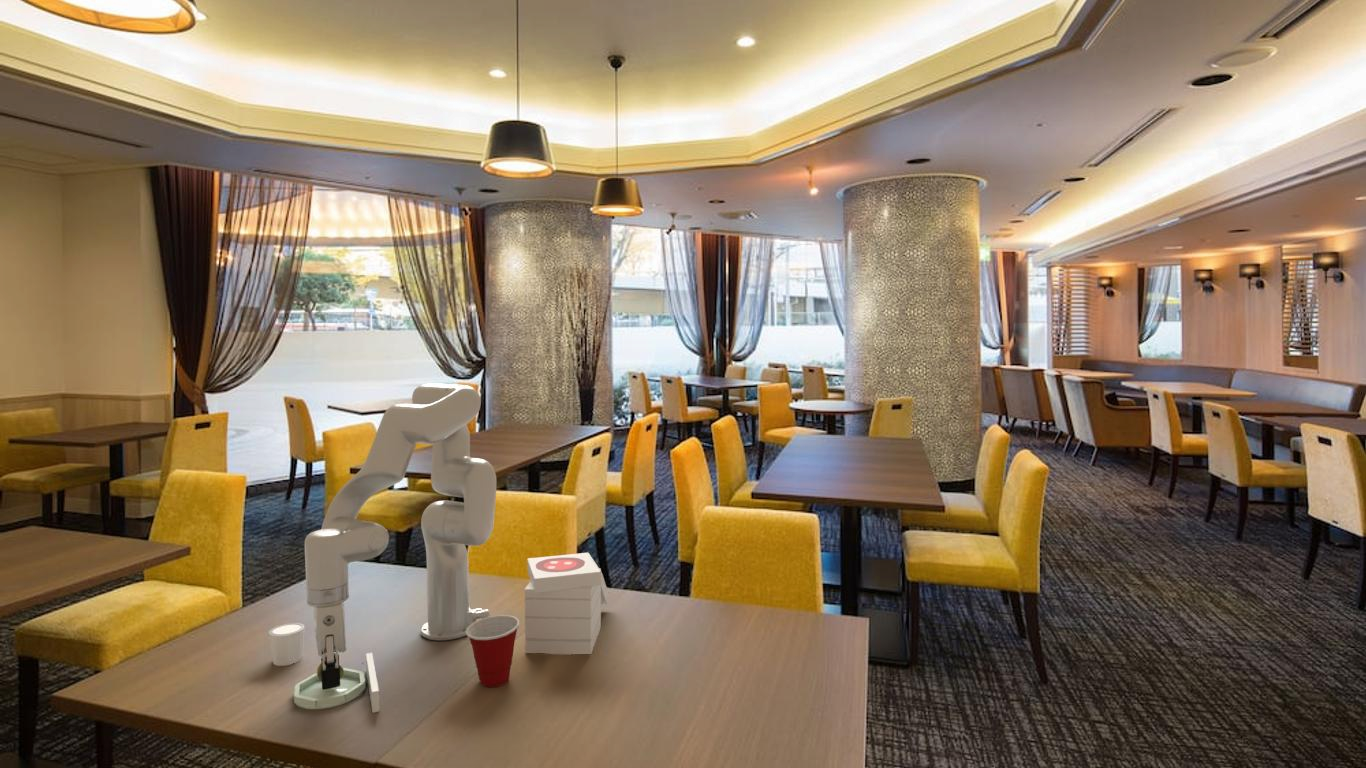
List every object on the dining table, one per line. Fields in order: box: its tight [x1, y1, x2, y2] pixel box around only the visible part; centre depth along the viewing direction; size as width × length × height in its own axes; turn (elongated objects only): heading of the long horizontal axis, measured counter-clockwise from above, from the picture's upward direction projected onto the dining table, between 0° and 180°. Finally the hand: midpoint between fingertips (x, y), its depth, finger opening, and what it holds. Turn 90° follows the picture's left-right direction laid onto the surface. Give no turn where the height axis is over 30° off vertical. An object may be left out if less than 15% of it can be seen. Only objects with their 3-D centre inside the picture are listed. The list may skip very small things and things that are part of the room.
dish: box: [293, 667, 367, 710], centre depth 140 cm, size 13×13×2 cm
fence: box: [365, 652, 380, 714], centre depth 140 cm, size 1×18×4 cm, turn 28°
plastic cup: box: [465, 614, 520, 688], centre depth 144 cm, size 11×11×12 cm
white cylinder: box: [268, 622, 305, 667], centre depth 153 cm, size 7×7×7 cm
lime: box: [316, 659, 344, 682], centre depth 140 cm, size 4×5×5 cm
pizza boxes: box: [524, 552, 609, 655], centre depth 169 cm, size 19×30×18 cm, turn 178°
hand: (330, 680), depth 140 cm, fingers closed on lime, 4 cm apart
